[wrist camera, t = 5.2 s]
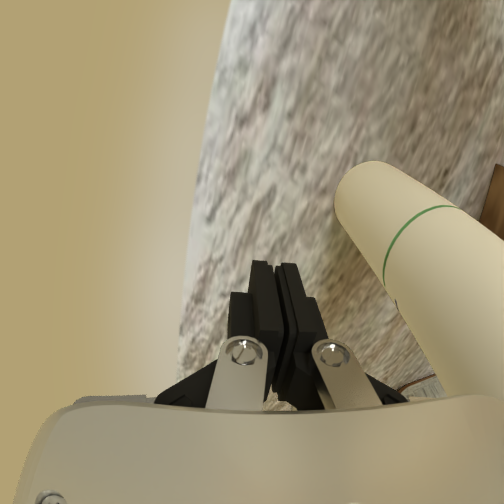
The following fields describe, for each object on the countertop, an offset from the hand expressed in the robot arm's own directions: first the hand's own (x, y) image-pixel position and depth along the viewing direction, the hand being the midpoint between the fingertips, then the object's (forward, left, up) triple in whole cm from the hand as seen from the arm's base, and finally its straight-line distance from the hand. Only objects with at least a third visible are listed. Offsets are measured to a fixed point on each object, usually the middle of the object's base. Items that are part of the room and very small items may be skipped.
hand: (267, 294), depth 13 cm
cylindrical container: (0, +11, -15) cm, 19 cm away
